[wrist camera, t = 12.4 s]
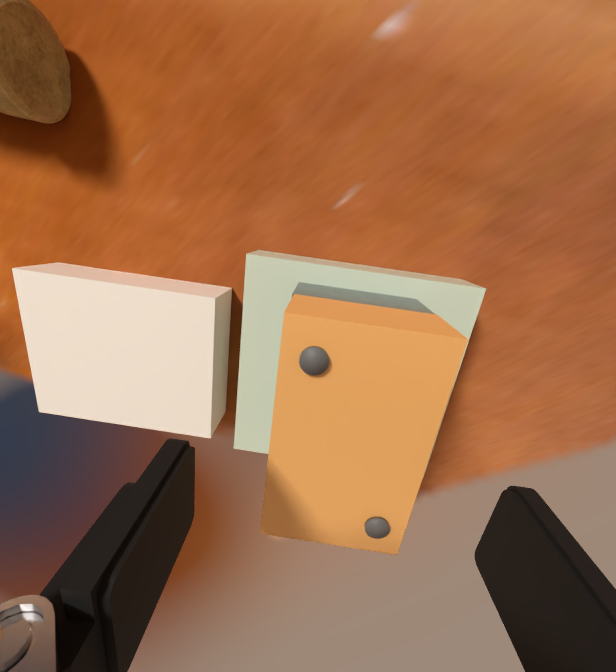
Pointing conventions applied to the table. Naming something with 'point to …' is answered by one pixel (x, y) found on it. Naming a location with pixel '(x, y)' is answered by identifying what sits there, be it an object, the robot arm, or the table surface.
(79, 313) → the stand
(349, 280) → the stand
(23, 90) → the gavel
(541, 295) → the table surface
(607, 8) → the table surface
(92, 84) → the table surface
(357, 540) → the housing cover
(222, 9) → the table surface
